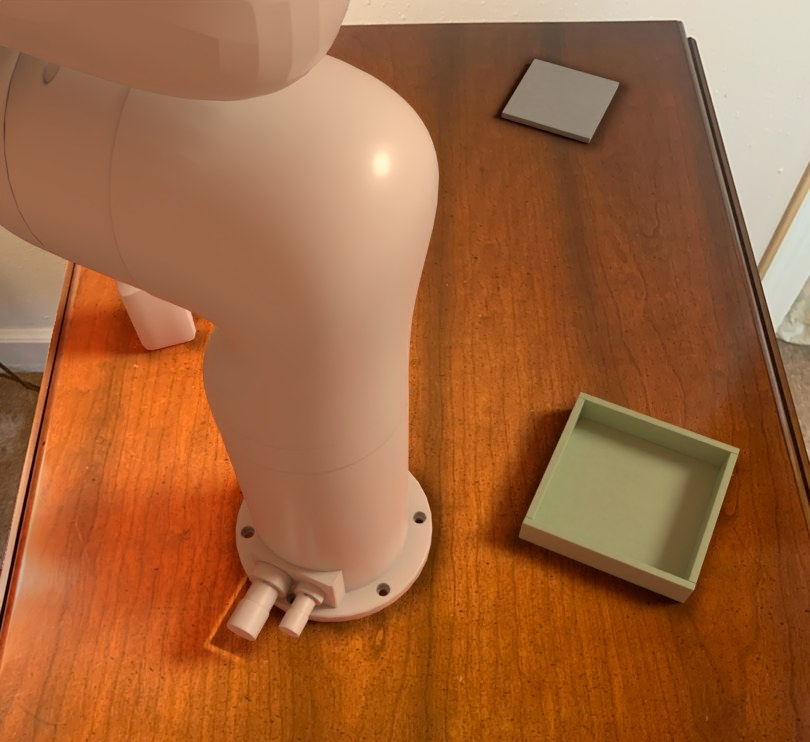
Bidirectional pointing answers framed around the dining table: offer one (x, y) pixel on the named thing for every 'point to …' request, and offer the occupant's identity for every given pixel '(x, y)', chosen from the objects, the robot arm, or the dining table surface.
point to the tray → (631, 496)
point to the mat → (560, 100)
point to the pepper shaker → (156, 318)
